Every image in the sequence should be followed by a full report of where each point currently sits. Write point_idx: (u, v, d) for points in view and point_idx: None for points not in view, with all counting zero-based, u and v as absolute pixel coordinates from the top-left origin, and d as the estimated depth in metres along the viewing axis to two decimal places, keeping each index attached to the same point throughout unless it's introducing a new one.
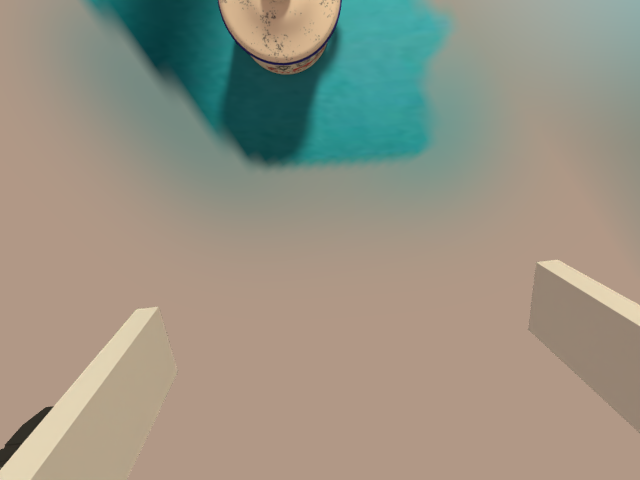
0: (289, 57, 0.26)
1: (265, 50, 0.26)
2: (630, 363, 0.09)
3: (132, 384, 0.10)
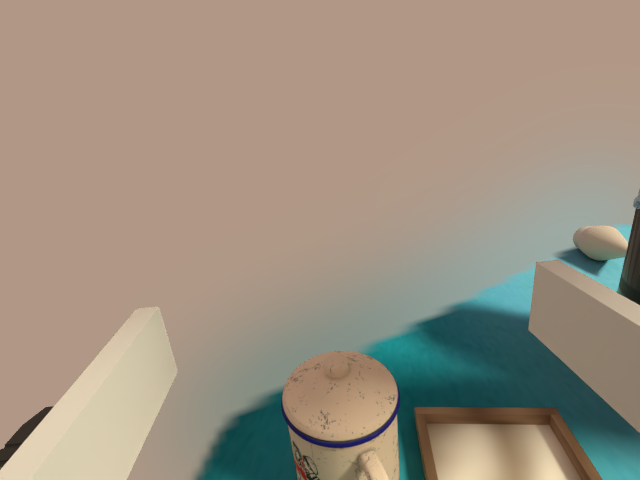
0: (285, 388, 0.27)
1: (296, 371, 0.29)
2: (630, 363, 0.09)
3: (132, 384, 0.10)
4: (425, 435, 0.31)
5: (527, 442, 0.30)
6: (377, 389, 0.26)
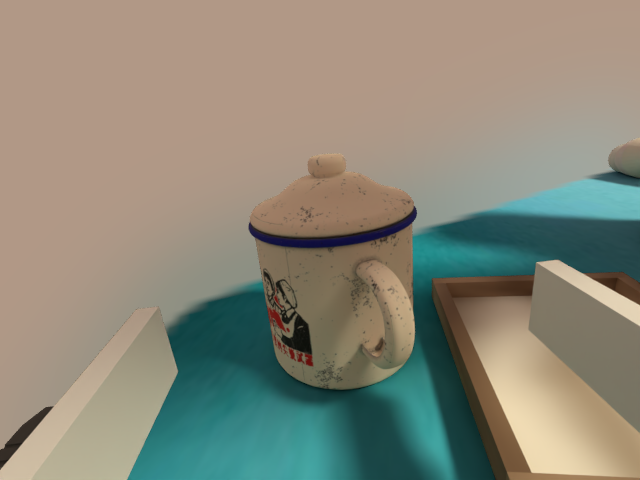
0: (256, 207, 0.19)
1: None
2: (630, 363, 0.09)
3: (132, 384, 0.10)
4: (448, 299, 0.23)
5: None
6: (384, 192, 0.18)
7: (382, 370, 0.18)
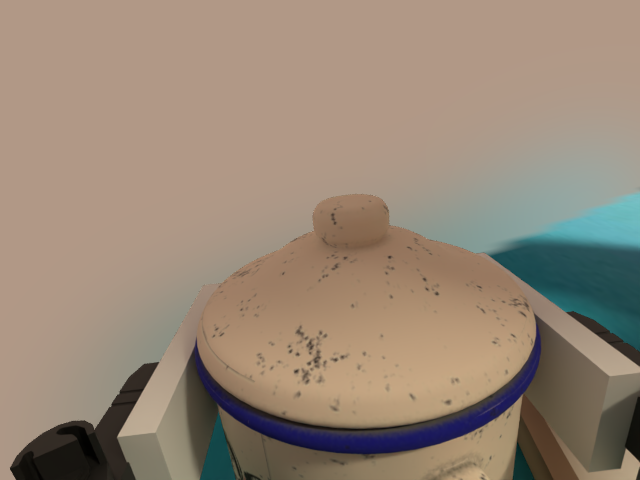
0: (215, 292, 0.10)
1: (252, 263, 0.12)
2: None
3: None
4: (542, 429, 0.14)
5: None
6: (472, 280, 0.09)
7: None
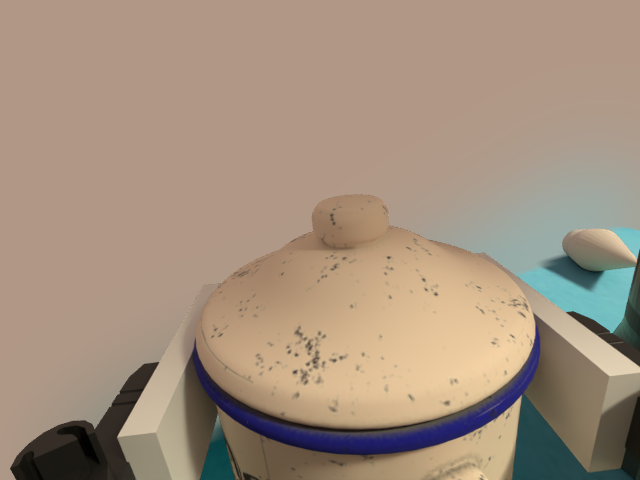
0: (215, 292, 0.10)
1: (251, 263, 0.12)
2: None
3: None
4: None
5: None
6: (472, 281, 0.09)
7: None
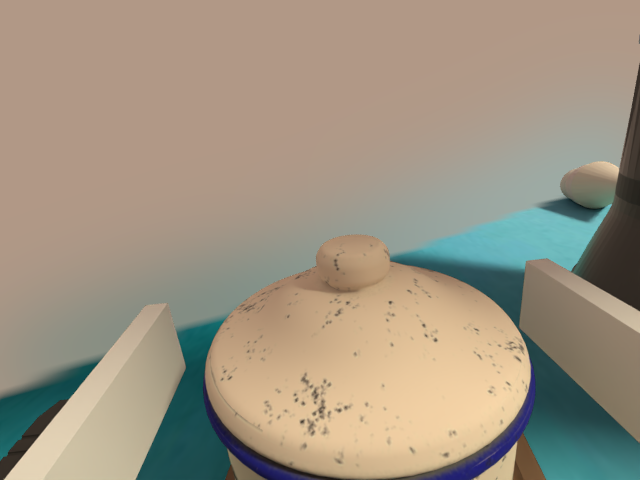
0: (222, 327, 0.11)
1: (256, 294, 0.12)
2: (614, 359, 0.09)
3: (143, 378, 0.10)
4: None
5: None
6: (470, 322, 0.09)
7: None
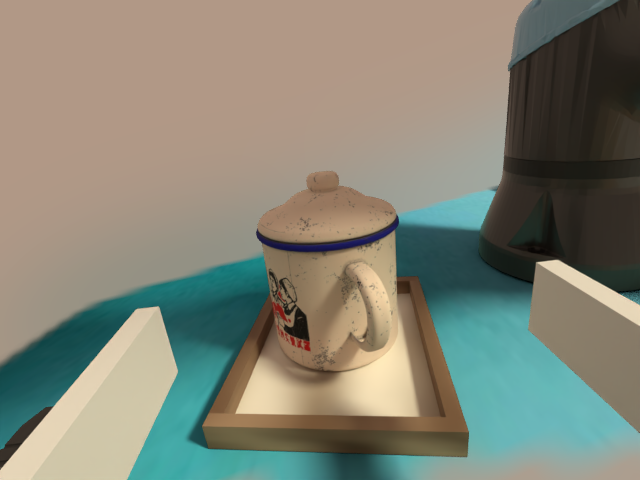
0: (262, 216, 0.23)
1: None
2: (630, 363, 0.09)
3: (132, 384, 0.10)
4: None
5: None
6: (371, 204, 0.21)
7: (369, 355, 0.21)
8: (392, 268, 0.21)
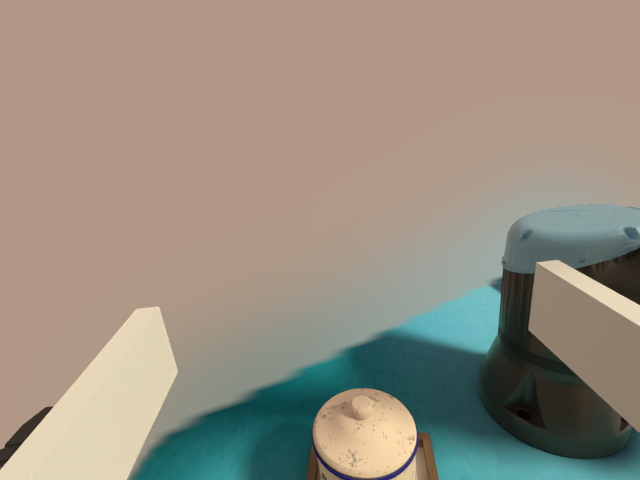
0: (315, 424, 0.30)
1: (324, 408, 0.32)
2: (630, 363, 0.09)
3: (132, 384, 0.10)
4: (314, 455, 0.36)
5: None
6: (398, 429, 0.29)
7: None
8: (413, 473, 0.29)
